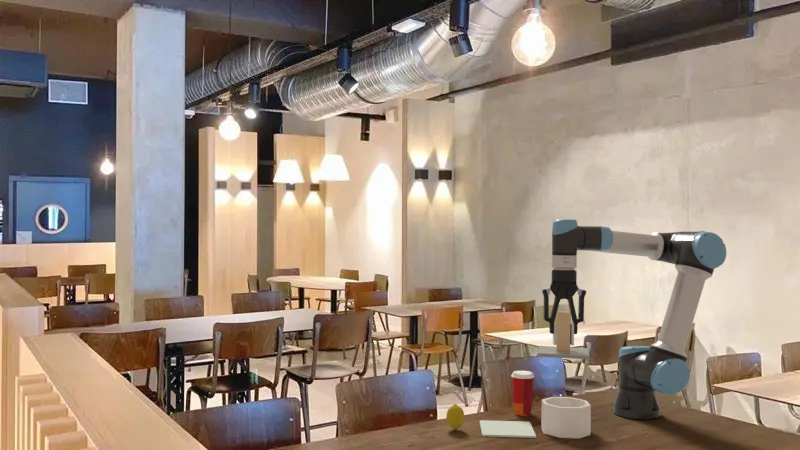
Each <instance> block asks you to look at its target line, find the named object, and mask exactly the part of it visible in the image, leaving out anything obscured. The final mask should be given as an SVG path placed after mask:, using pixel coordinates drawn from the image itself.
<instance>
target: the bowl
mask: <svg viewBox="0 0 800 450" xmlns="http://www.w3.org/2000/svg"><path fill="white" fill-rule="evenodd" d="M591 406H592V405H591V404H590V403H589V402H588V400H585V399H580V398H576V397H572V396H569V397H568V396H550V397H545V398H542V399H541V412H540V413H541V414H540V415H541V421H540V422H541V425H540V426H541V428H540V429H541V431H542V432H543V434H545V435H548V436H552V437H555V438H559V439H582V438H584V437H585V438H586V437H588V436H591V434H592V433H591V432H592V430H591V429H592V428H591V424H592V423H591V421H592V420H591V419H592V415H591V413H592V412H591V411H592V410H591V409H592V407H591Z"/></svg>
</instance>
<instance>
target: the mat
mask: <svg viewBox="0 0 800 450" xmlns="http://www.w3.org/2000/svg"><path fill="white" fill-rule="evenodd" d="M479 426H480V431H481V437H485V438H486V436H487V438H488V437H489V438H521V439H522V438H523V439H537V435H536V432H535V431H534V428H533V426H532V423H531V422H530V421H516V420H514V421H513V420H512V421H511V420H482V419H481V420H479Z"/></svg>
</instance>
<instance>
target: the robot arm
mask: <svg viewBox="0 0 800 450" xmlns="http://www.w3.org/2000/svg"><path fill="white" fill-rule="evenodd" d="M551 241H552V242H551V251H552V252H551V268H553V269H551V283H550V286H549V287H546V288H541V293H542V296H543V320H544V321H545V322H547V323H549V330H548V331H549V333H550V334H551V335H552V344H553V346H557V322H555V321H556V319H557V311H559V310H558V309H559V305H560V302H561V300H567V304H568V308H569V311H571V312H570V318H571V321H572V322H570V346H574V345H575V335H577V334H578V324H579V323H583V322H584V320H585V319H584V318H585V297H586V294H587V290H586V289H582V288H580V287H579V286H578V284H577V275H578V274H577V273H578V271H577V270H576V269H577V266H578V265H577V264H578V263H577V262H578V259H577V253H578V251H587V252H598V253H608V254H618V255H628V256H638V257H648V258H649V260H651V261H658V262H659V261H660V262H662V263H663V262H664V263H666V264H667V263H668V264H671V265H674V267H675V269H676V271H677V276H676V278H675V281H674V285H673V289H672V291H671V295H670V298H669V300H668V301H669V302H668V304H667V308H666V311H665V315H664V316H663V317H664V318H663V321H662V324H661V327H660V330H659V333H658V337H657V341H655V342H654V343H652V344H650V346H649V345H648V346H647V345H646V346H645V345H641V346H640V345H633V346H632V345H630V346H622V347H620V348H619V352H618V390H617V393H616V396H615V400H614V403H613V410H612V411H613V414H615V415H617V416H620V417H623V418H626V419H632V420H633V419H634V420H655V418H656V419H659V418H660V417H661V408H660V405H659V402H658V399H657V395H656V392H657V393H659V394H666V395H676V394H678V393H679V392H682V391H684V389H686V387H687V386H688V384H689V381H690V377H691V371H690V367H689V365H688V364H687V360H688V355H687V353H686V351H685V349H686V346H687V344H688V340H689V337H690V336H689V335H690V333H691V329H692V326H693V323H694V319H695V316H696V312H697V310H698V306H699V303H700V301H701V300H700V299H701V296H702V293H703V290H704V286H705V283H706V281H707V280H708V279H710V278H712V277H713V273H714V272H715V269H717V268H720V266H722V265H723V264H724V263H725V261H726V258H727V247H726V244H725V243H724V240H723V239H722V237H720V235H718V234H716V233H715V232H712V231H705V230H699V231H675V232H673V231H672V232H655V231H654V232H652V233H651V234H647V233H645V234H644V233H635V232H626V231H619V230H618V231H617V230H612V229H611V228H610V227H609V226H602V225H600V226H599V225H597V226H596V225H595V226H593V225H591V226H590V225H589V226H588V225H587V226H585V225H584V226H583V225H581V226H580V225H578V220H576V219H564V218H563V219H559V218H558V219H555V220H553V222H552V228H551ZM550 293H552V294H553V295H554V299H553V304H552V309H551V313H550V312H549V311H550V309H549V307H550V304H549V302H550V301H549V300H550ZM576 293H577V295H578V312H577V313H578V316H577V313H576V308H575V303H574V295H575V294H576ZM549 313H550V315H549ZM658 417H659V418H658Z"/></svg>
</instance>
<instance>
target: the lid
mask: <svg viewBox="0 0 800 450" xmlns="http://www.w3.org/2000/svg"><path fill="white" fill-rule="evenodd" d="M570 312H571V311H570V310H569V311H567V310H566V311H565V310H557V314H556V324H557V345H556V346H549V345H546V346H545V345H539V347H538V350H537V357H543V358H553V359H554V358H555V359H556V358H557V359H571V360H572V359H575V360H590V353H589V348H588V347H572V346H571V345H570V323H571V313H570Z"/></svg>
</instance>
